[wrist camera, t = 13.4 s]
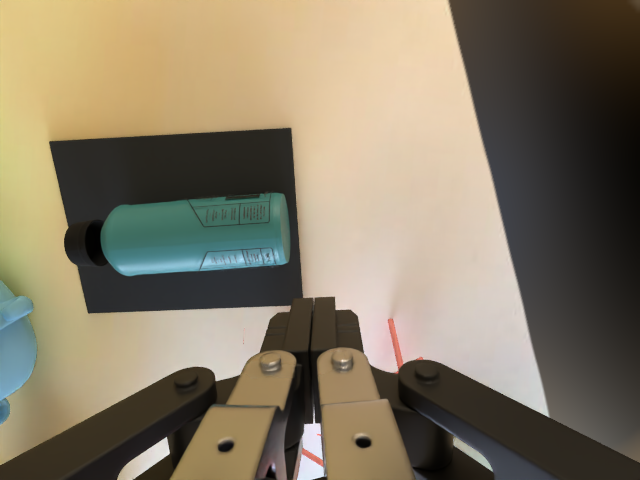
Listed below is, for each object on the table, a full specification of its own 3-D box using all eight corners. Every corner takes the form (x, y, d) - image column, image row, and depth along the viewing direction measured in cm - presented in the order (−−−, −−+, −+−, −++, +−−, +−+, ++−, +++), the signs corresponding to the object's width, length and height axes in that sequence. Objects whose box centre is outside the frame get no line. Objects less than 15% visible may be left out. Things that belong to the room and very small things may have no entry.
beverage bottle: (296, 180, 30) (49, 198, 30) (301, 265, 29) (47, 281, 30) (304, 198, 36) (99, 212, 37) (308, 268, 35) (99, 281, 36)
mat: (90, 311, 39) (87, 313, 38) (51, 141, 35) (48, 141, 34) (303, 303, 38) (302, 305, 38) (291, 128, 34) (290, 127, 33)
